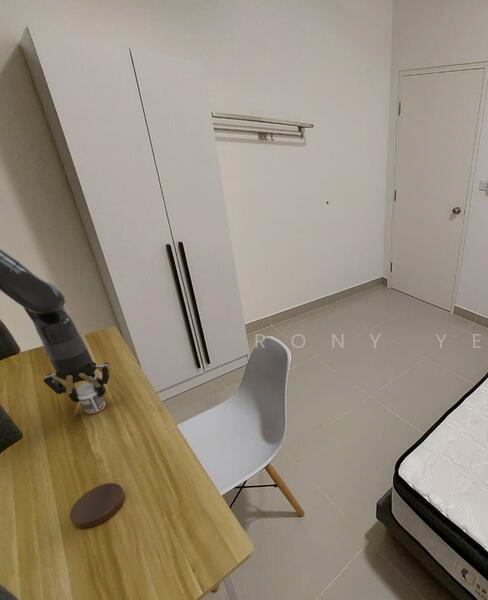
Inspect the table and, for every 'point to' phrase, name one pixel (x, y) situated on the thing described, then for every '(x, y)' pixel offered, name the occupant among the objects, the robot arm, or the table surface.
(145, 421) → the table surface
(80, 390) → the pill bottle
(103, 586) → the table surface
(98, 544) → the table surface
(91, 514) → the walnut disc
